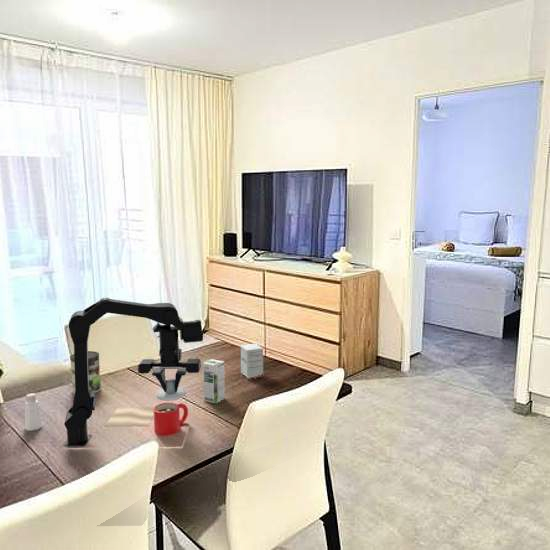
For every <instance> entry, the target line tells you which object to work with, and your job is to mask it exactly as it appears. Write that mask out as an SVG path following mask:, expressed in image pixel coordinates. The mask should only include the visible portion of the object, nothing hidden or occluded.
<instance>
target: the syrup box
mask: <svg viewBox="0 0 550 550" xmlns="http://www.w3.org/2000/svg"><path fill="white" fill-rule="evenodd" d="M202 368H203V371H202V374H203V402H207V403H210V404H211V403H212V404H216V405H217V404H218V402H219V403H220V402H222V401H223V400H224V399H226V397H225V396H226V394H225V392H226V391H225V385H226V384H225V383H226V382H225V361H224V360H218V359H217V360H216V359H214V358H213V359H212V358H211V359H209V360H208V359H207V360H206V361H205V362H203V363H202ZM221 400H222V401H221Z"/></svg>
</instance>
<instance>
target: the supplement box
mask: <svg viewBox="0 0 550 550" xmlns="http://www.w3.org/2000/svg"><path fill="white" fill-rule="evenodd" d="M241 373H242V374H243V375H245V376H246V377H247V378H250V377H254V376H258V375H261V374H263V375H264V348H263V347H262V346H261V345H259V344H257V343H249V344H248V343H247V344H243V345H240V374H241ZM242 374H241V375H242ZM243 375H242V376H243Z"/></svg>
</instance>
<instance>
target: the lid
mask: <svg viewBox="0 0 550 550" xmlns="http://www.w3.org/2000/svg"><path fill="white" fill-rule="evenodd" d="M186 392H187V391H186V389H185V388H183V387H178V390H177V392H175V378H168V379H166V392H164V390H163V388H162V389H159V390H158V391H157V392H156V398H157V399H158V400H160V401H164V402H167V401H168V402H172V401H177V400H180V399H182V398H184V397H185V396H186Z"/></svg>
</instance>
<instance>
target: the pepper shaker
mask: <svg viewBox="0 0 550 550" xmlns="http://www.w3.org/2000/svg"><path fill="white" fill-rule="evenodd" d="M25 395H26V397H25V398H26V402H25V410H24V412H25V416H24V430H25V431H29V432H31V431H36V430H39V429H41V428H42V427H43V422H42V421H43V420H42V416H41V415H42V414H41V411H40V406H39V400H37V394H36V393H35V392H32V393H31V392H30V393H27V394H25Z"/></svg>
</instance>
